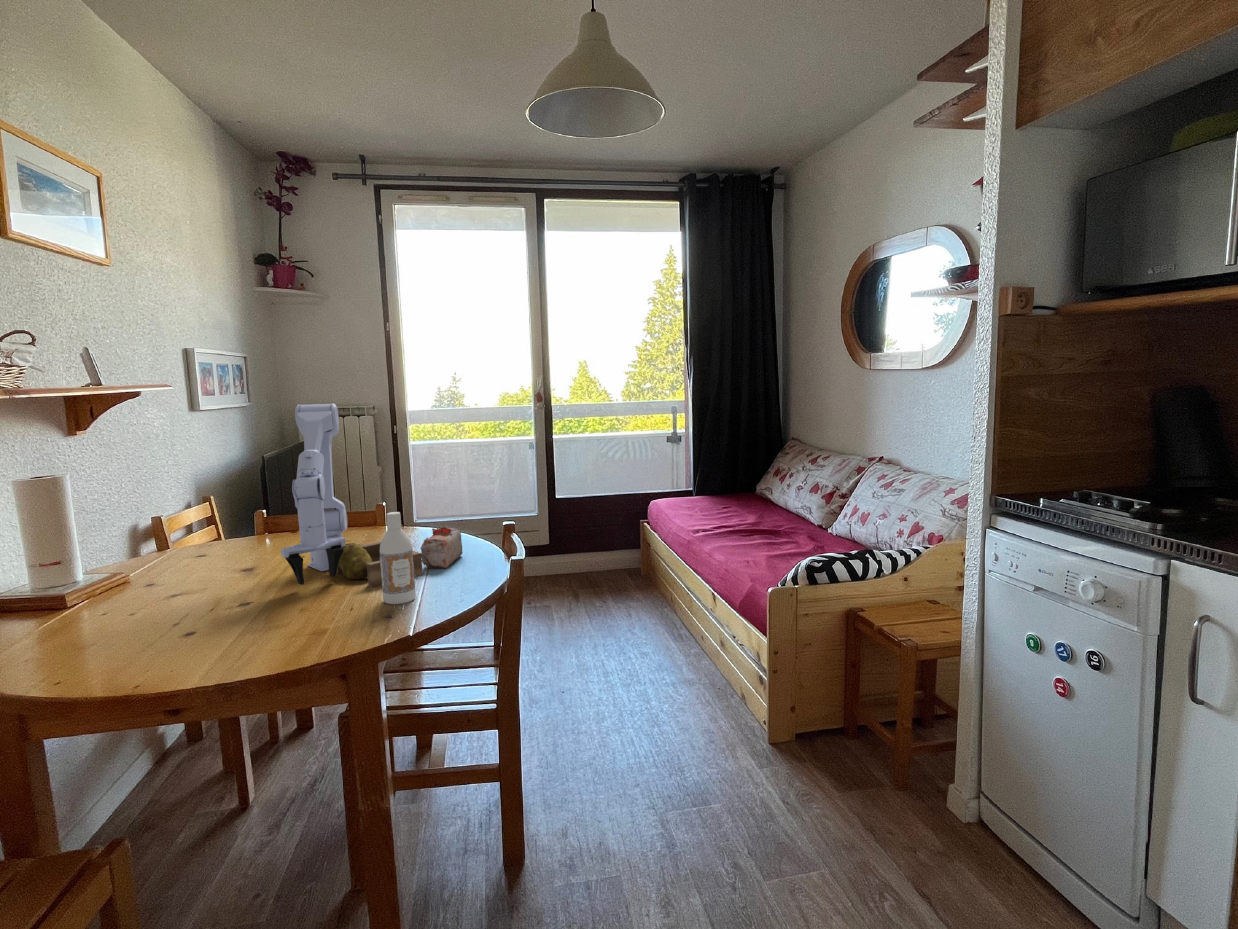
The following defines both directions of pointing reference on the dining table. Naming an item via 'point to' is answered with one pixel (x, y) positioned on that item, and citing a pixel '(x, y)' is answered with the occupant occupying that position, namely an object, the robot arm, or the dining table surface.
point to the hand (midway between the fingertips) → (317, 580)
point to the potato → (354, 561)
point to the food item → (441, 548)
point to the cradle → (375, 566)
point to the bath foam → (396, 563)
